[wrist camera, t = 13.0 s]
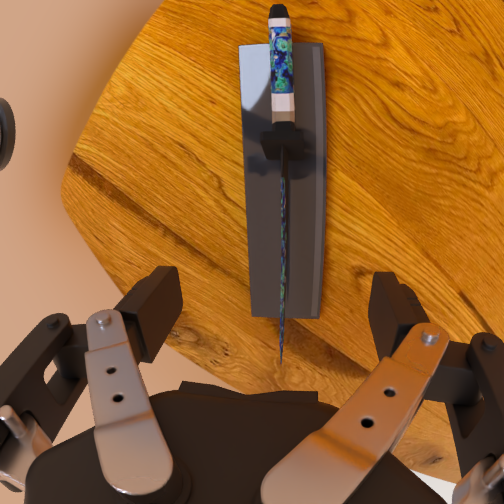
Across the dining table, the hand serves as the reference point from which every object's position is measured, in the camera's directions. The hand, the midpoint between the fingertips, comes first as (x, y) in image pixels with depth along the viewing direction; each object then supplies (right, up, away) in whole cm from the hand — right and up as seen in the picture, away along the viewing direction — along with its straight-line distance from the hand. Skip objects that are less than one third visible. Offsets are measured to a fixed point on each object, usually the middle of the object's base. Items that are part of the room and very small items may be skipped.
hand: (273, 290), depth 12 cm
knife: (+2, +6, +13) cm, 15 cm away
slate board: (+2, +7, +15) cm, 17 cm away
